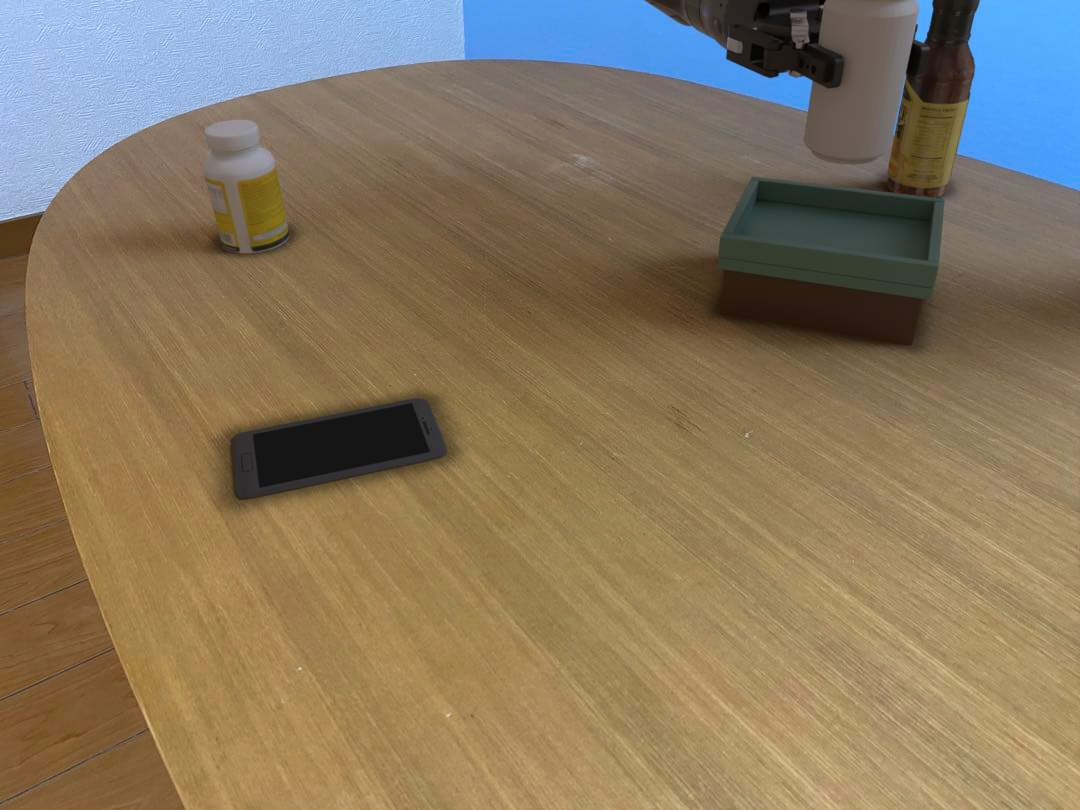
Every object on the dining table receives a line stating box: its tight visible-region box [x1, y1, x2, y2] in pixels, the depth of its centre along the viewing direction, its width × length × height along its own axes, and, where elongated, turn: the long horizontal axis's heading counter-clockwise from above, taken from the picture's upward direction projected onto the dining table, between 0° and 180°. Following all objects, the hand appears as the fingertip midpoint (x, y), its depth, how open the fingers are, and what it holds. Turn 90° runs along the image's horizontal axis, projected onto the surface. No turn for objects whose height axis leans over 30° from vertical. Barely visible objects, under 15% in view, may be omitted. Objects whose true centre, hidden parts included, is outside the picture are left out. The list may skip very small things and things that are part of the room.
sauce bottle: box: [886, 0, 981, 198], centre depth 93 cm, size 7×6×20 cm
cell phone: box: [230, 397, 448, 501], centre depth 64 cm, size 7×14×1 cm, turn 108°
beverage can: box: [803, 0, 920, 166], centre depth 68 cm, size 6×6×12 cm
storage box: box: [716, 176, 946, 346], centre depth 77 cm, size 16×13×8 cm
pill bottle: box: [202, 119, 290, 254], centre depth 88 cm, size 6×6×12 cm
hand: (881, 67), depth 66 cm, fingers closed on beverage can, 6 cm apart
